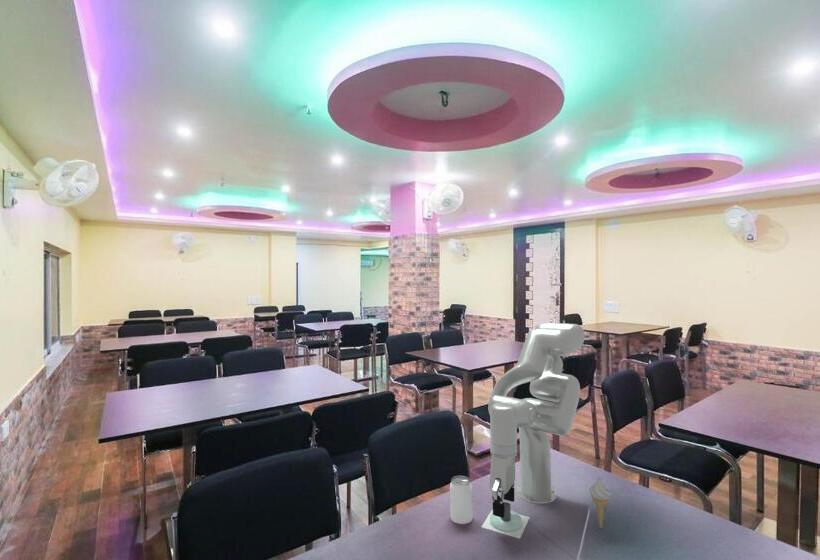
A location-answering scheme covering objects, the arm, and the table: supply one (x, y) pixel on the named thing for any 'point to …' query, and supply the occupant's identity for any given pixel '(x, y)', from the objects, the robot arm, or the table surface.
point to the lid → (506, 520)
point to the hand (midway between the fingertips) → (503, 507)
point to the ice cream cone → (600, 498)
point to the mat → (514, 534)
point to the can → (461, 500)
